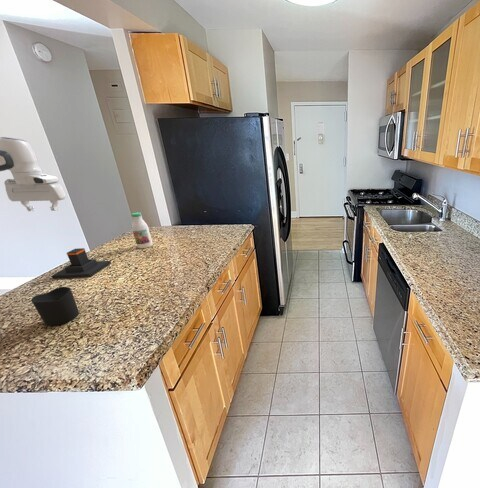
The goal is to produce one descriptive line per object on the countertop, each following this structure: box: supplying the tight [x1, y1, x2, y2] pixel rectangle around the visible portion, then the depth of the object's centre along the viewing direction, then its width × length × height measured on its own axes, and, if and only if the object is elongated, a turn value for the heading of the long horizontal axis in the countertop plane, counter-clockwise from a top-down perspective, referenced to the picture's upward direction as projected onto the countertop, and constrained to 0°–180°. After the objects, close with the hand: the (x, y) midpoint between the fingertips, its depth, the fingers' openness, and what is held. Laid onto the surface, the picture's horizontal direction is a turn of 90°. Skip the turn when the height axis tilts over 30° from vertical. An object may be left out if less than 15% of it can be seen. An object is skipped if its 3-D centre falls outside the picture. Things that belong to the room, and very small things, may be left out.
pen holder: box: [31, 286, 80, 327], centre depth 89 cm, size 9×9×10 cm
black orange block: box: [66, 247, 90, 267], centre depth 122 cm, size 4×5×9 cm
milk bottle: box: [130, 212, 154, 249], centre depth 148 cm, size 8×8×20 cm
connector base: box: [51, 258, 112, 280], centre depth 123 cm, size 16×14×4 cm
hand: (43, 210), depth 115 cm, fingers open, 8 cm apart
